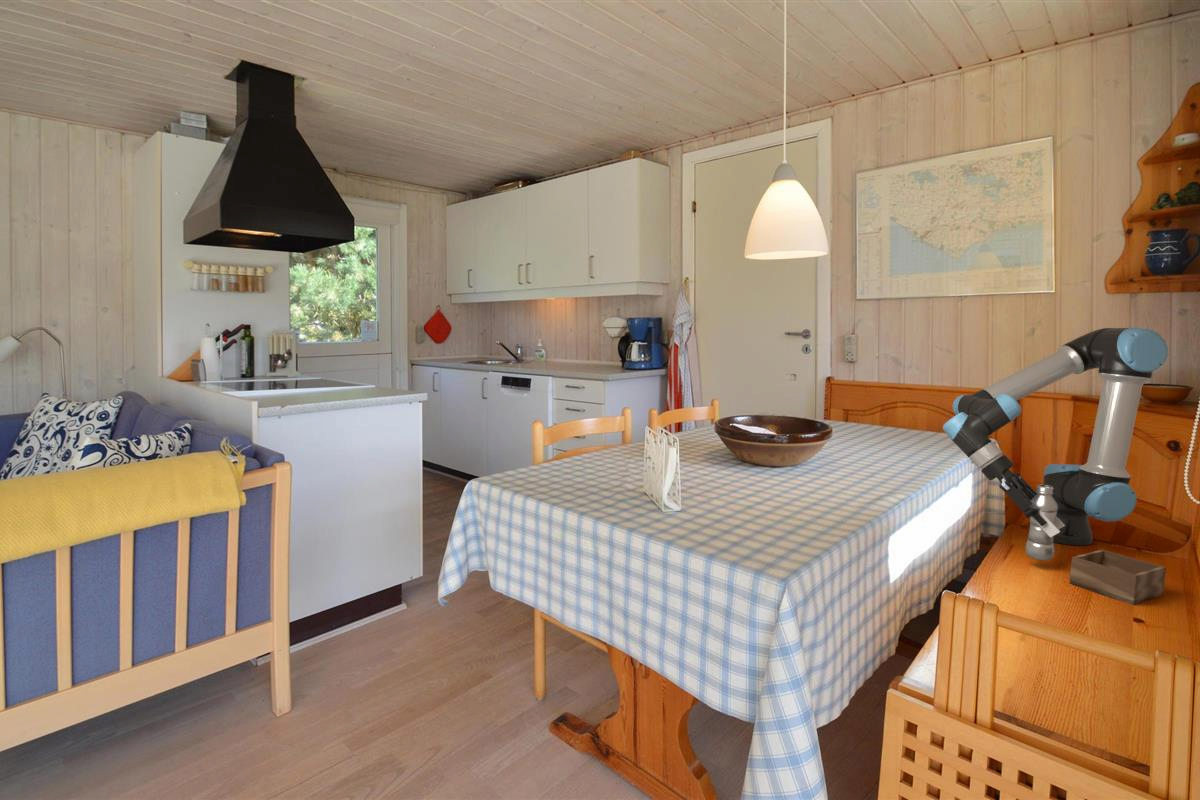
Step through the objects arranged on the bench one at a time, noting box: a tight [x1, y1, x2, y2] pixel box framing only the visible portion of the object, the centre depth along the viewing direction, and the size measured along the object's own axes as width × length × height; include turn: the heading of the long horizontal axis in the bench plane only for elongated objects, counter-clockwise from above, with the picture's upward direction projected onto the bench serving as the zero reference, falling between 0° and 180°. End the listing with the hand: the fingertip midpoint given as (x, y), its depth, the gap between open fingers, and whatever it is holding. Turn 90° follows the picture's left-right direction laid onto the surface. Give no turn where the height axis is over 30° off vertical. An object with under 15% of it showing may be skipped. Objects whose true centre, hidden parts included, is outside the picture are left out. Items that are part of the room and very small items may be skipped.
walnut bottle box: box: [1068, 549, 1167, 606], centre depth 158 cm, size 14×14×7 cm
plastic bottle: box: [1025, 484, 1058, 561], centre depth 171 cm, size 6×7×20 cm
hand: (1057, 531), depth 169 cm, fingers closed on plastic bottle, 6 cm apart
